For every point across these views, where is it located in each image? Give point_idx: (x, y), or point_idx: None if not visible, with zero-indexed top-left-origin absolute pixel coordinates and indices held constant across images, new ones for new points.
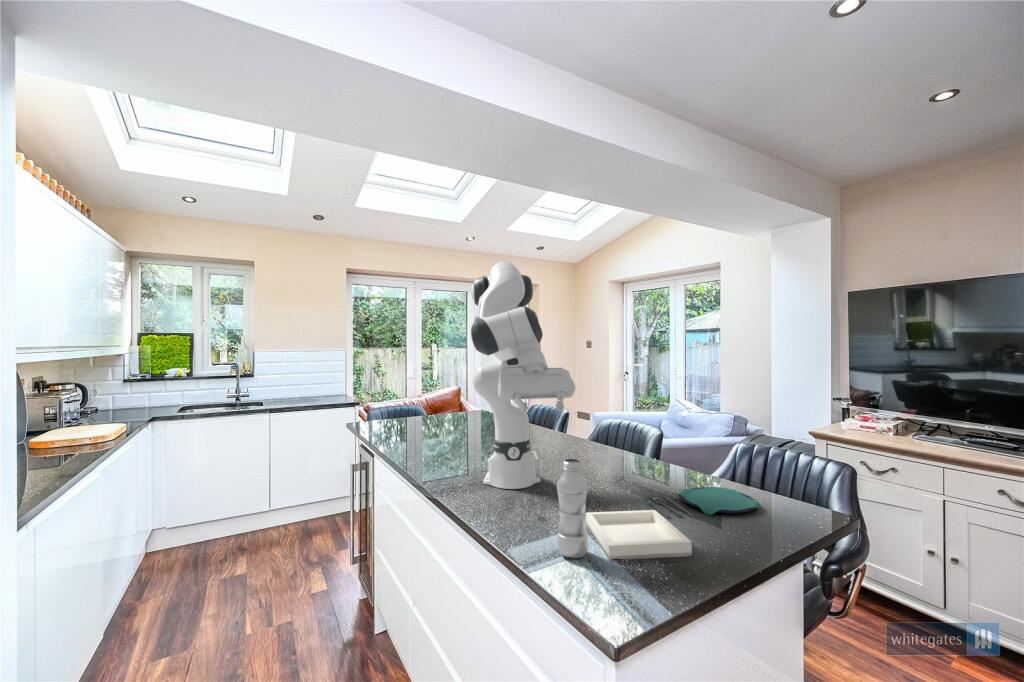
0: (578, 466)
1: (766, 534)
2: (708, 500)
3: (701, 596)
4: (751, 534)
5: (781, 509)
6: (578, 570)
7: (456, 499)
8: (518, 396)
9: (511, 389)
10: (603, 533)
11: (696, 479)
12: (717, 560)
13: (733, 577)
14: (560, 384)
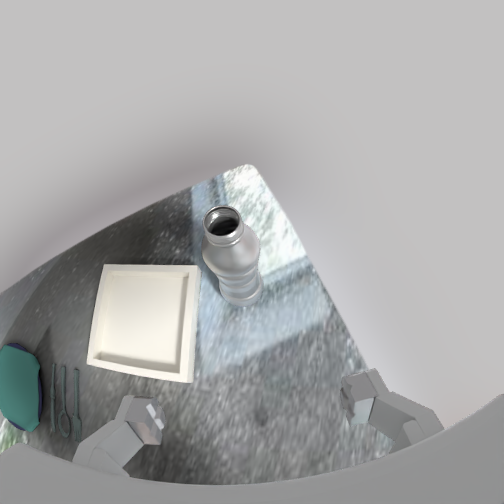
0: (215, 211)
1: (30, 301)
2: (22, 391)
3: (153, 206)
4: (38, 305)
5: None
6: None
7: None
8: (417, 418)
9: (481, 419)
10: (189, 301)
11: None
12: (97, 259)
13: (108, 231)
14: (56, 496)
